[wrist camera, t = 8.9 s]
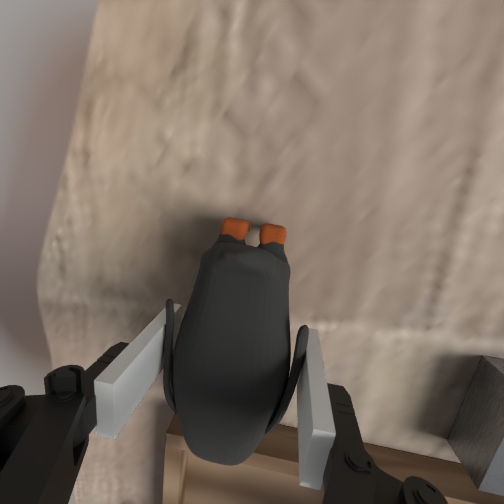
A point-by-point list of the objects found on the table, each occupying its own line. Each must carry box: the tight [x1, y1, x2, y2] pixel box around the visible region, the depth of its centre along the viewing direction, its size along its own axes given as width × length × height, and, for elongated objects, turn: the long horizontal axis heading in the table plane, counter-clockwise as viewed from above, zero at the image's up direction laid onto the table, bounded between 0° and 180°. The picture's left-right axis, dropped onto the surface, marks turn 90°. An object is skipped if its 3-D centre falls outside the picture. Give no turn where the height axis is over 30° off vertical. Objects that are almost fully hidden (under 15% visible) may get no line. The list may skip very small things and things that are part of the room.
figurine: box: [163, 218, 309, 466], centre depth 14 cm, size 7×10×15 cm
